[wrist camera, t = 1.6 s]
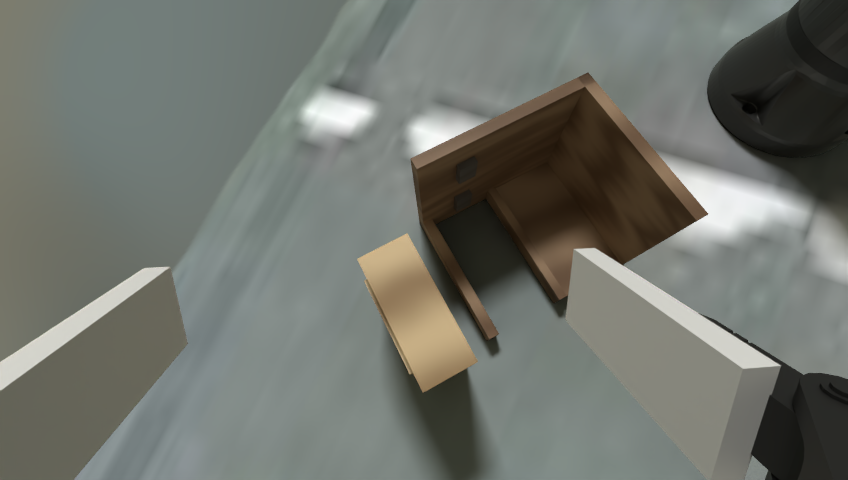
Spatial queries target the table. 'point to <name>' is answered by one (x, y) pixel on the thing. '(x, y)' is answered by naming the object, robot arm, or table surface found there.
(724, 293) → the table surface
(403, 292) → the tan block
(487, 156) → the cabinet
